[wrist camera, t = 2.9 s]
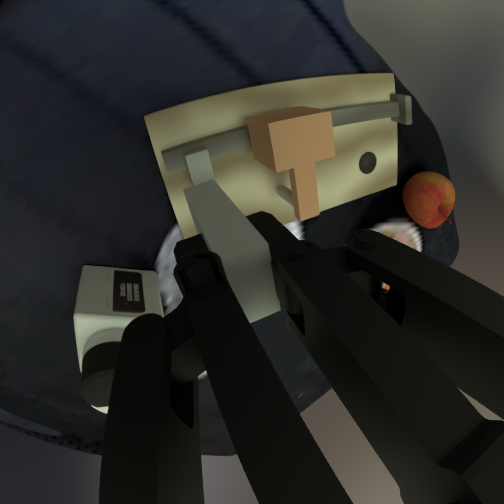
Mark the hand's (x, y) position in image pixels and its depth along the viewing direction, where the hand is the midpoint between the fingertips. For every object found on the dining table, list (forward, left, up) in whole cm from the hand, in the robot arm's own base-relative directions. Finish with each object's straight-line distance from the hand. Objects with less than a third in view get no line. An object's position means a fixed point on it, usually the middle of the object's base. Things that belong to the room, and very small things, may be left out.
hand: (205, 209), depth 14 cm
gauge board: (+3, +11, -12) cm, 17 cm away
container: (+12, -11, -13) cm, 20 cm away
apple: (+12, +28, -13) cm, 33 cm away
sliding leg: (+2, +8, -11) cm, 14 cm away
